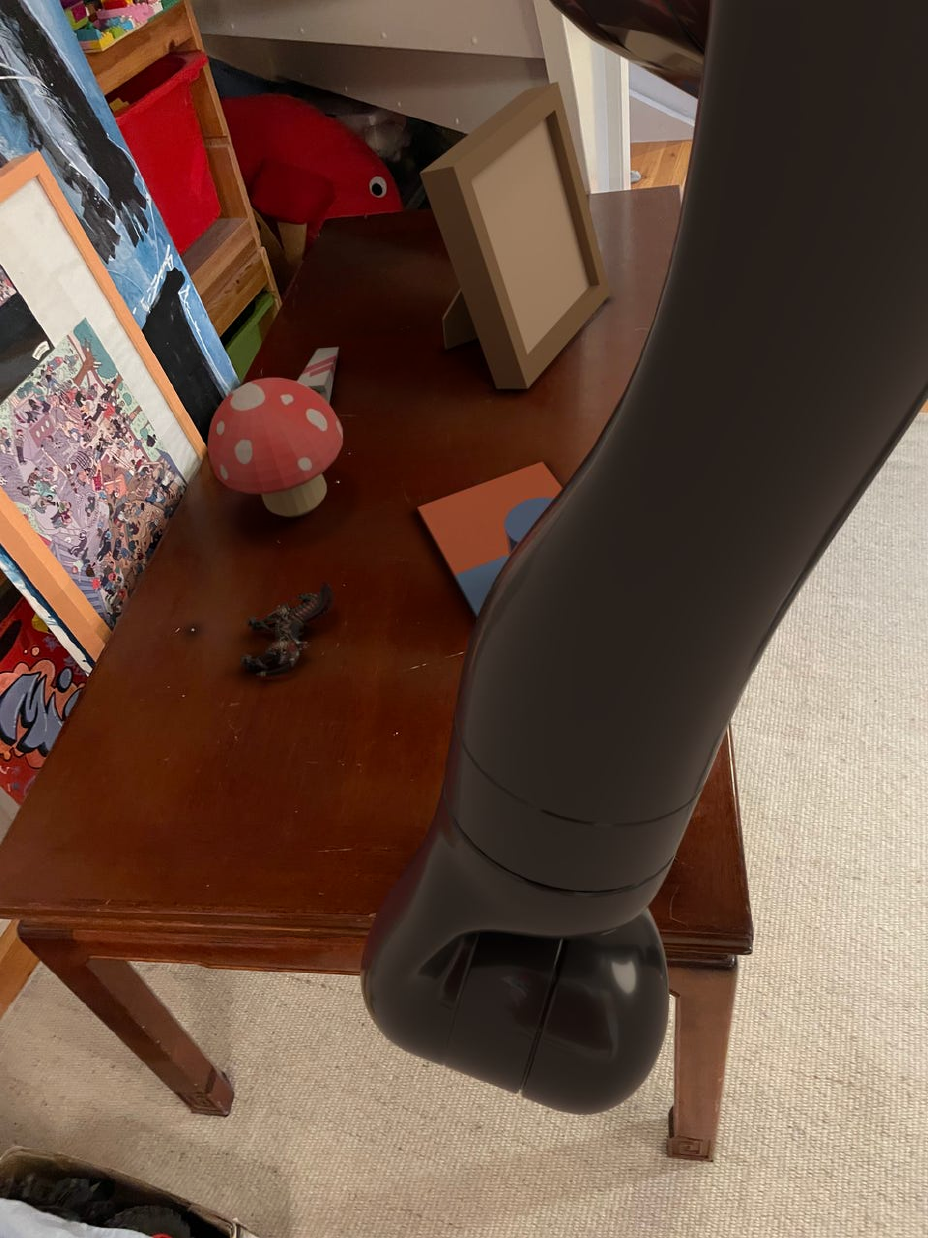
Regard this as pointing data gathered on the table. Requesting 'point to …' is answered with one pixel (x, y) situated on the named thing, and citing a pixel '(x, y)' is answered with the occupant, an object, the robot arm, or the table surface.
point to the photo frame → (517, 237)
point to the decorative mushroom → (275, 443)
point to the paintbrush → (321, 372)
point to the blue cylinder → (523, 519)
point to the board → (482, 526)
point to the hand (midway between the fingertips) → (580, 761)
